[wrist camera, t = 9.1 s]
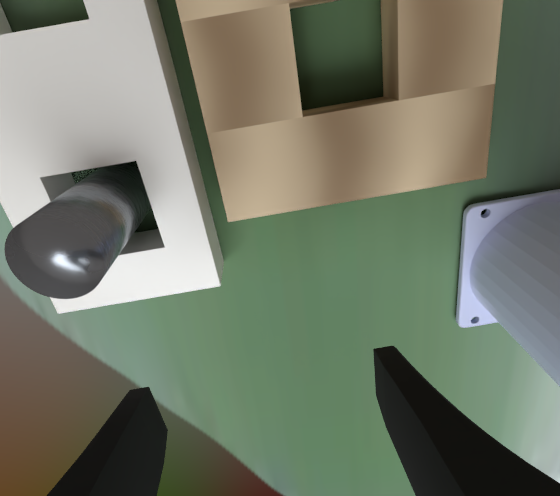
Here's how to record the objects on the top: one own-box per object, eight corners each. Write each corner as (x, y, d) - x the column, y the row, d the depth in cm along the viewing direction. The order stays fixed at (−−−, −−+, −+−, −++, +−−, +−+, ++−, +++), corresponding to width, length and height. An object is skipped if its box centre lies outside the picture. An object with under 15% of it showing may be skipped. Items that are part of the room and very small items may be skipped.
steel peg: (144, 158, 18) (86, 211, 11) (159, 217, 19) (115, 293, 13) (81, 166, 18) (-13, 223, 11) (100, 224, 19) (27, 303, 13)
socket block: (485, -157, 14) (521, -191, 12) (463, 166, 19) (486, 177, 17) (160, -99, 14) (146, -123, 12) (230, 207, 19) (228, 222, 17)
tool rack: (103, -212, 12) (70, -273, 10) (223, 261, 20) (220, 285, 18) (-135, -169, 12) (-220, -220, 10) (79, 286, 20) (58, 313, 18)
